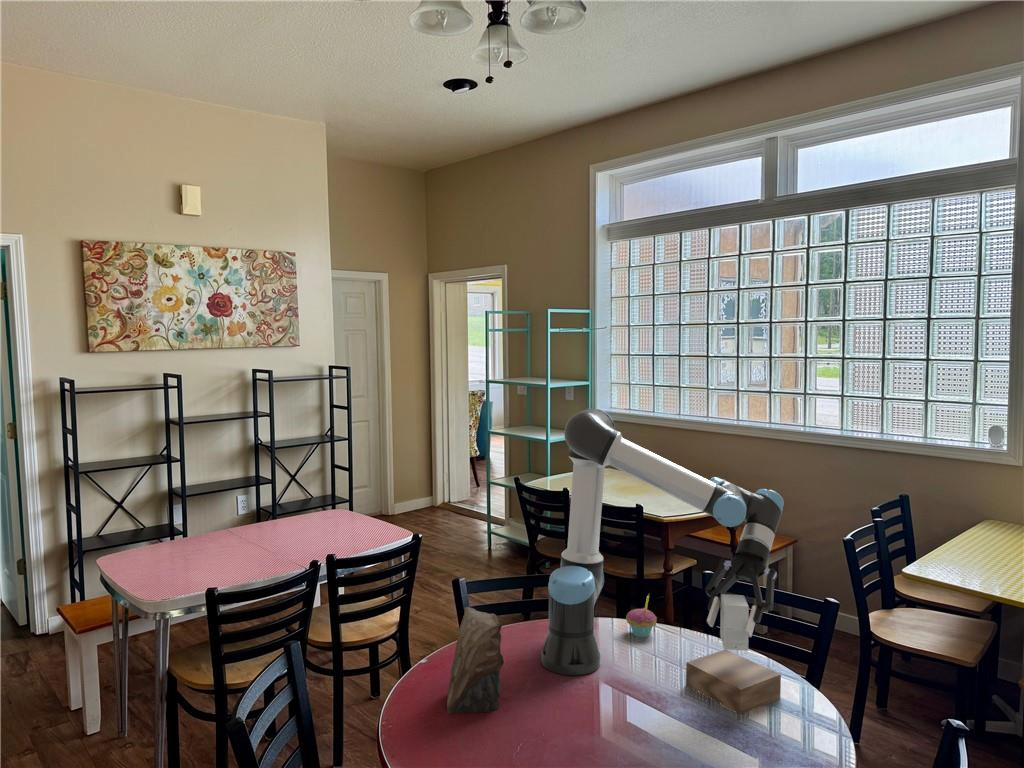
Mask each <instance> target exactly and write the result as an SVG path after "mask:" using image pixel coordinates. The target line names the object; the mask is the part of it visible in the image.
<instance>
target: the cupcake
mask: <svg viewBox="0 0 1024 768" xmlns="http://www.w3.org/2000/svg"><path fill="white" fill-rule="evenodd" d="M649 599H650V593H648V594H647V596H646V599H645V605H644V607H642V608H634V609H631V610H630V611H628V612H627V613H626V617H625V619H626V623H628V624H629V625H630V627H631V628H630V629H631V633H632V635H633V636H635V637H637V638H648V637H649V636H650V635H651V631H652V629H653V627H654V626H655V625H656V624H657V620H658V619H657V618H658V617H657V615H656V614H655V613H653V611H651V610H649V609H648V605H649V601H650V600H649Z"/></svg>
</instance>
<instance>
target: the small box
mask: <svg viewBox="0 0 1024 768" xmlns="http://www.w3.org/2000/svg"><path fill="white" fill-rule="evenodd" d="M746 599H747V598H746V596H745V595H742V594H741V595H740V594H731V593H729V594H728V593H725V594H721V598H720V602H721V604H720V615H719V616H720V624H719V625H720V627H719V628H720V631H719V636H720V639H721V642H722V647H723V650H725V649H726V650H728V651H731V650H732V651H745V652H746V651H747V652H749V637H748V635H747V634H746V632H745V629H746V626H747V623H748V619H749V616H750V613H749V612H750V611H749V610H750V606H749V604H748V601H747V600H746Z"/></svg>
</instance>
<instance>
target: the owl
mask: <svg viewBox="0 0 1024 768" xmlns="http://www.w3.org/2000/svg"><path fill="white" fill-rule="evenodd" d="M502 626H503V625H502V624H501V623H500V622H499V619H498V616H497V614H496V613H488V612H484V611H479V610H477V609H475V608H474V607H471V606H466V607H464V615H463V616H462V619H461V623H460V626H459V630H458V637H457V641H456V646H455V649H454V655H453V659H452V664H451V668H450V677H449V684H448V688H447V701H446V705H447V706H446V707H447V709H446V714H449V715H450V714H466V713H481V712H484V713H485V712H486V713H489V712H494V711H497V710H499V709H500V706H499V701H498V699H500V697H501V686H502V685H501V683H502V682H501V681H502V680H501V675H500V674H501V670H502V668H503V665H504V663H505V661H504V656H503V655H502V654H501V642H502V641H501V640H502V633H501V630H502Z"/></svg>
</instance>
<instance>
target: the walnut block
mask: <svg viewBox="0 0 1024 768" xmlns="http://www.w3.org/2000/svg"><path fill="white" fill-rule="evenodd" d="M685 664H686V668H685V669H686V670H685V686H686V685H687V686H686V687H688V686H689V688H690V687H691V689H692V688H693V689H692V690H694V689H695V690H694V691H695V692H698V691H699V692H700V693H699V692H698V693H699V694H701V693H702V695H703V694H704V695H703V696H705V695H706V696H705V697H707V696H708V697H707V698H709V697H710V698H712V699H714V700H715V701H714V700H713V701H714V702H716V701H717V702H716V703H718V704H720V703H721V704H720V705H722V706H723V705H724V706H723V707H725V706H726V707H725V708H727V707H728V708H727V709H729V710H731V711H732V712H734V711H735V713H736V712H737V713H736V714H738V713H739V714H738V715H740V716H741V715H743V714H746V713H747V711H748V712H750V711H752V710H755V709H758V708H760V707H763V706H765V705H767V704H770V703H773V702H775V701H777V700H779V699H781V687H782V686H781V684H782V682H781V681H782V680H781V679H782V674H781V673H779V672H777V671H774V670H772V669H770V668H768V667H766V666H763V665H762V664H759V663H757V662H755V661H752V660H750V659H748V658H746V657H744V656H741V655H739V654H737V653H735V652H733V651H731V650H729V649H723V650H720V651H716V652H713V653H711V654H708V655H707V654H706V655H705V656H701V657H698V658H695V659H692V660H689V661H686V663H685ZM710 698H709V699H710ZM712 699H711V700H712ZM745 712H746V713H745Z"/></svg>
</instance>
